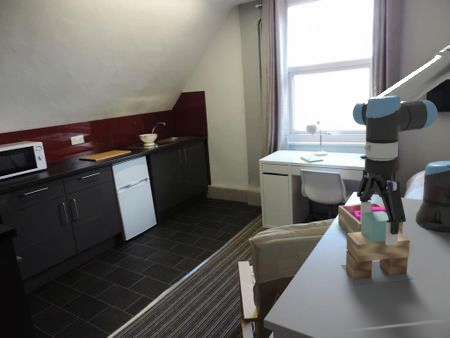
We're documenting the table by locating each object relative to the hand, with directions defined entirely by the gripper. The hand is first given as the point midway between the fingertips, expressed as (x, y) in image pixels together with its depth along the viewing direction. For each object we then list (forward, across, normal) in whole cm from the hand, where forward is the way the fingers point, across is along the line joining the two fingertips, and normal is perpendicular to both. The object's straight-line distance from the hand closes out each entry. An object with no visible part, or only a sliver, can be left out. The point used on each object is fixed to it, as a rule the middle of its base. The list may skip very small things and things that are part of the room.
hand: (377, 232), depth 88 cm
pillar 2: (+12, 0, +5) cm, 13 cm away
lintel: (+6, 0, 0) cm, 6 cm away
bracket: (+12, -26, +11) cm, 31 cm away
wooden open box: (+12, -26, +11) cm, 31 cm away
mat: (+12, 0, 0) cm, 12 cm away
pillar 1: (+12, 0, -5) cm, 13 cm away
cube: (+1, 0, 0) cm, 1 cm away
